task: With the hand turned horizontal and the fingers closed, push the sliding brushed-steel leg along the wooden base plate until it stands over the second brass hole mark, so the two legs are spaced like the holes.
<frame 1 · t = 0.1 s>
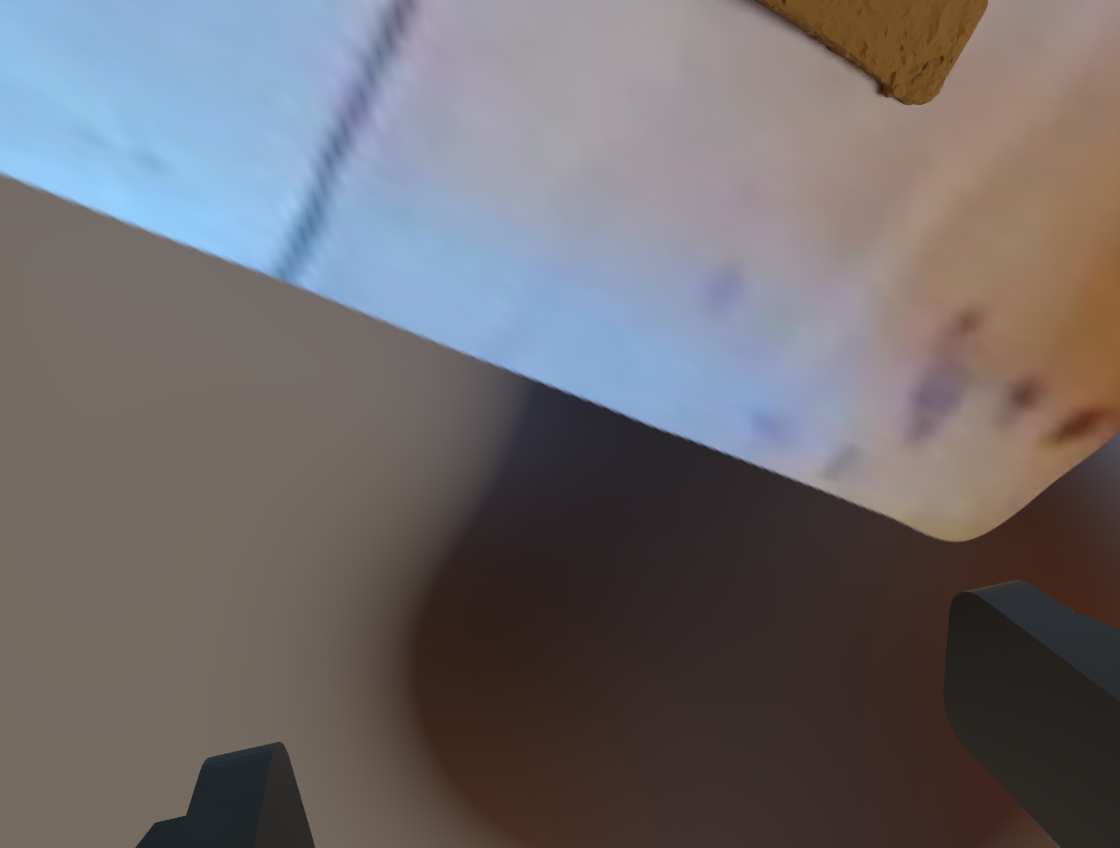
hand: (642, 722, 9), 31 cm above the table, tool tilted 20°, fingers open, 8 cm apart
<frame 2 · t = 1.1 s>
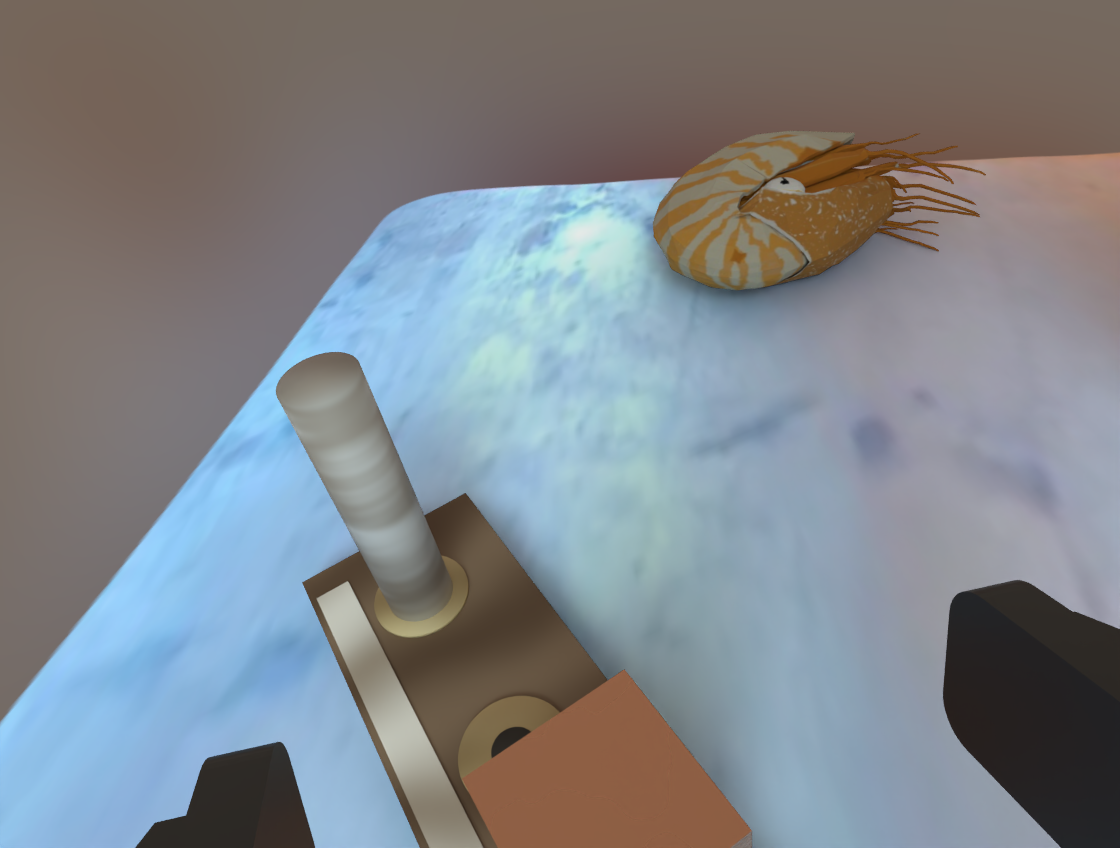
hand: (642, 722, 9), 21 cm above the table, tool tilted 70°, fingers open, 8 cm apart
wooden base plate: (523, 769, 30), on the table
nautilus: (813, 262, 54), on the table
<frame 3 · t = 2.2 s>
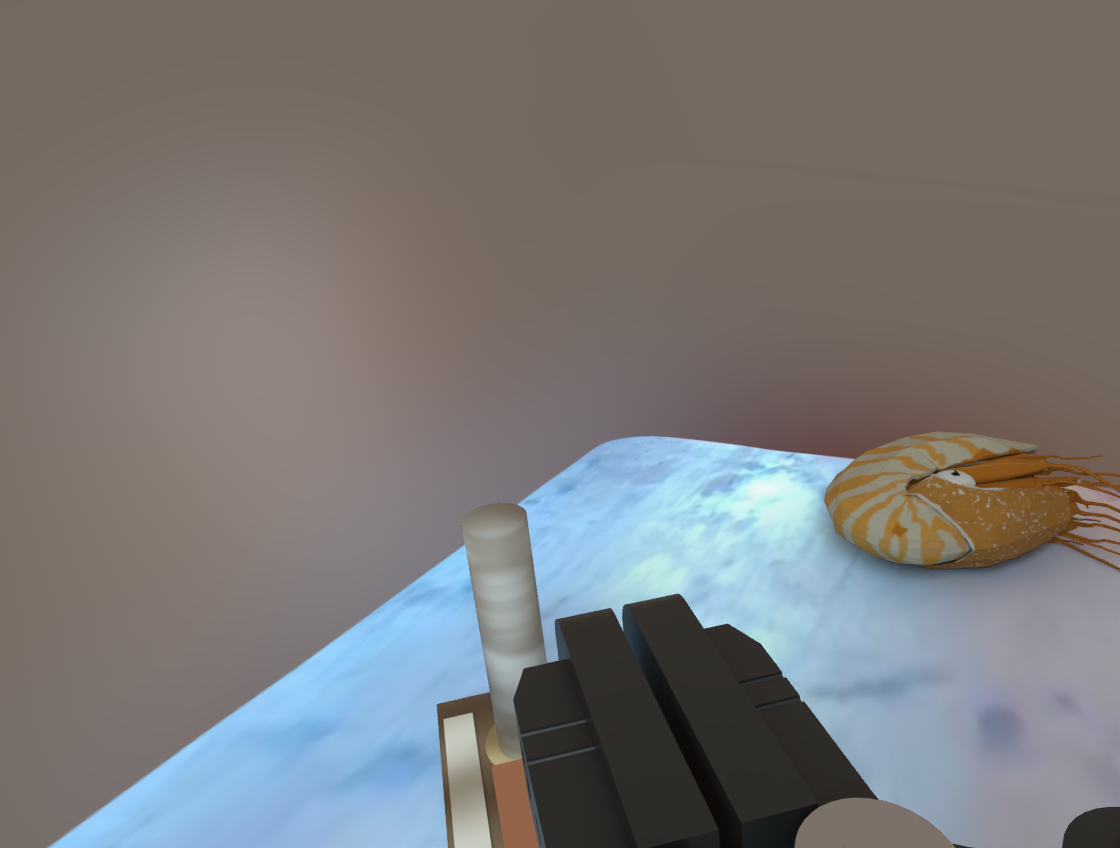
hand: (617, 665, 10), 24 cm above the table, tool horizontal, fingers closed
nautilus: (985, 557, 55), on the table
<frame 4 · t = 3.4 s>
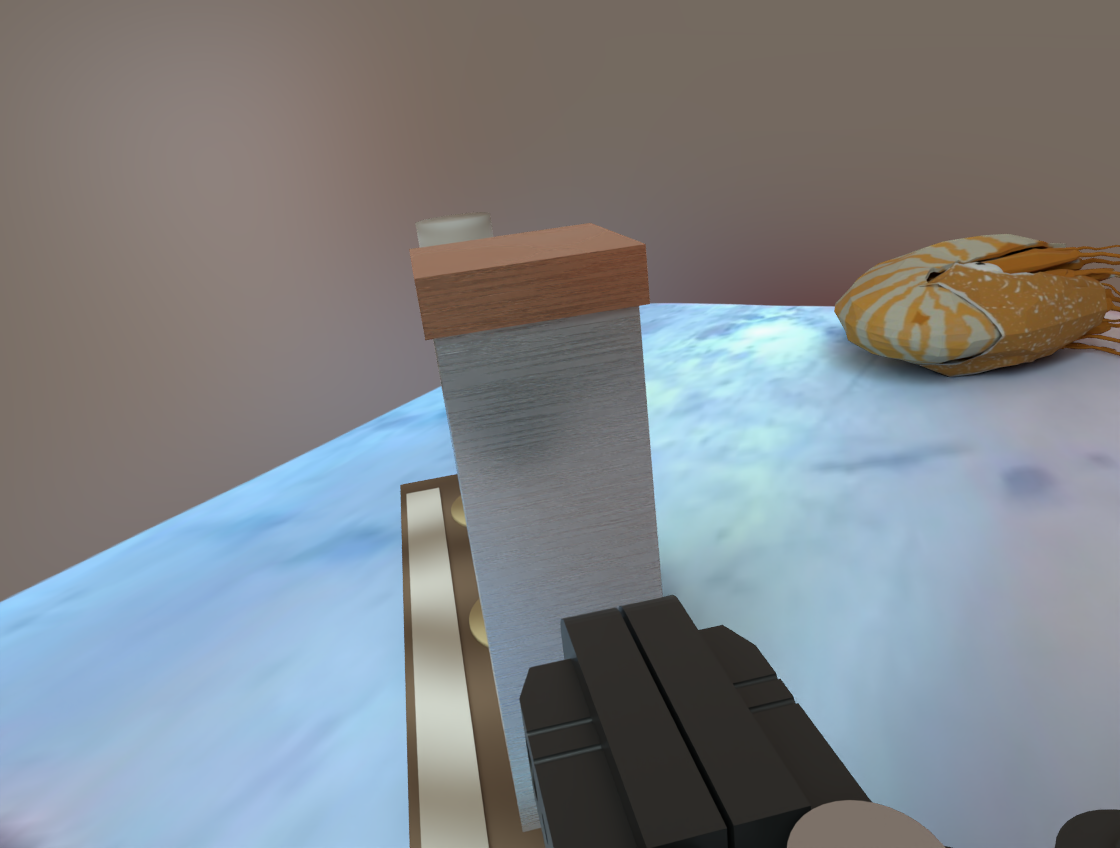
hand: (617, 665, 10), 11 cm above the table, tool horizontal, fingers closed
wooden base plate: (536, 648, 28), on the table
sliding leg: (557, 562, 17), point 9 cm above the table, slide at 9.0 cm
nautilus: (1011, 367, 50), on the table
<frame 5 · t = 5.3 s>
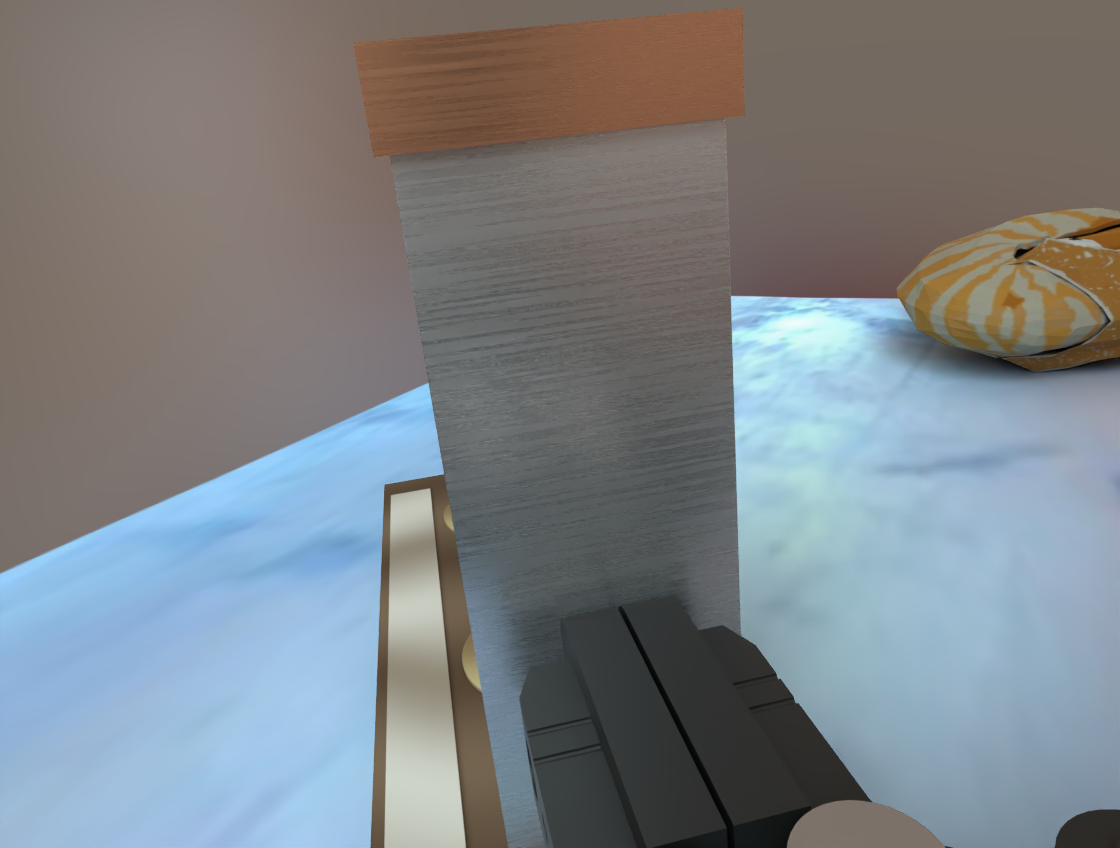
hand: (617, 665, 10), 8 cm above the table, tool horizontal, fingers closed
wooden base plate: (549, 694, 22), on the table
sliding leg: (579, 547, 11), point 9 cm above the table, slide at 7.7 cm, touching gripper
nautilus: (1102, 361, 43), on the table
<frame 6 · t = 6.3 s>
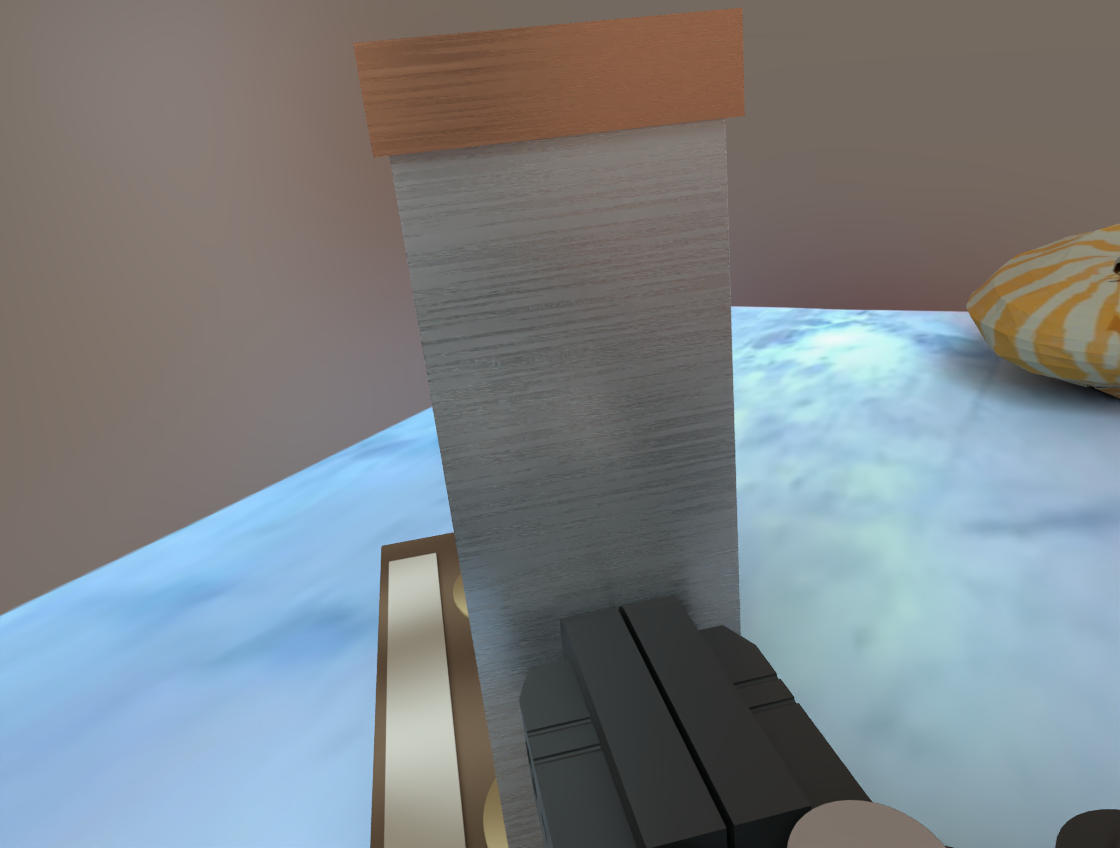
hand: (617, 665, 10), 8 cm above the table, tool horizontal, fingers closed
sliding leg: (579, 547, 11), point 9 cm above the table, slide at 2.1 cm, touching gripper
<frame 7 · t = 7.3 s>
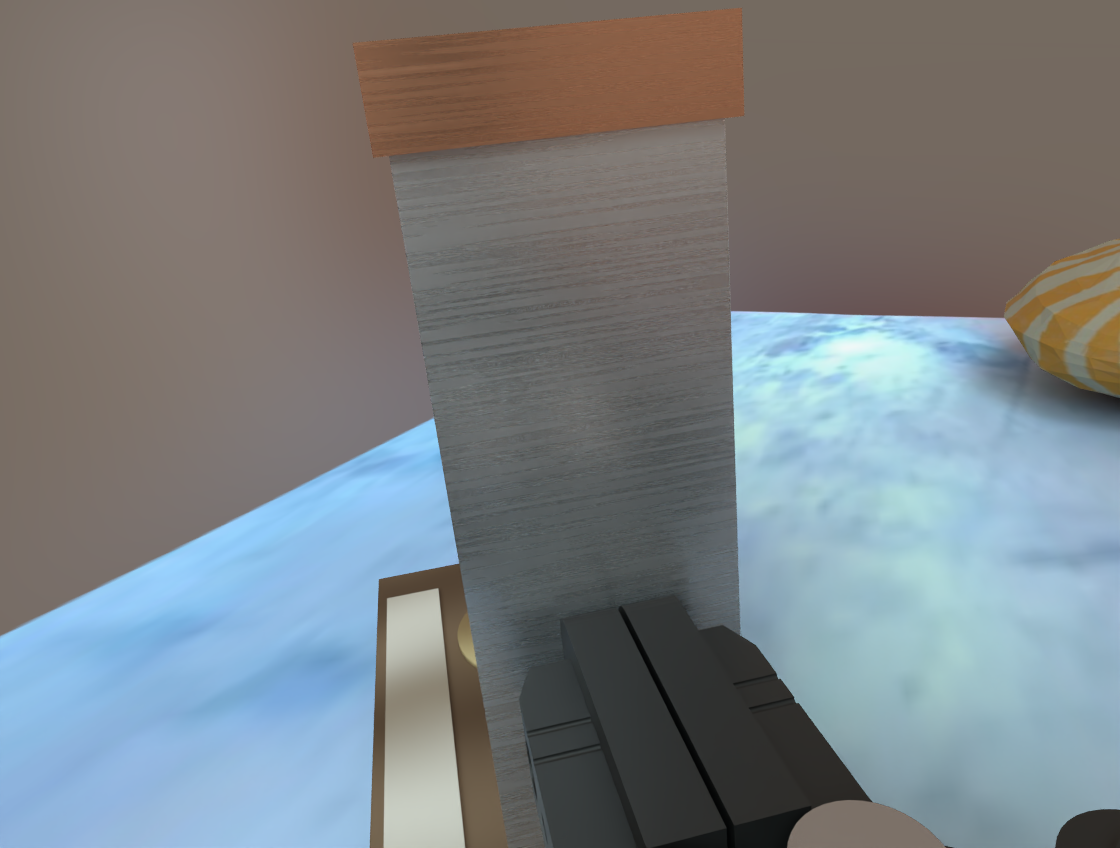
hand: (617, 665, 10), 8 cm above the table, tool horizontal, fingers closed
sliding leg: (578, 547, 11), point 9 cm above the table, slide at -0.2 cm, touching gripper
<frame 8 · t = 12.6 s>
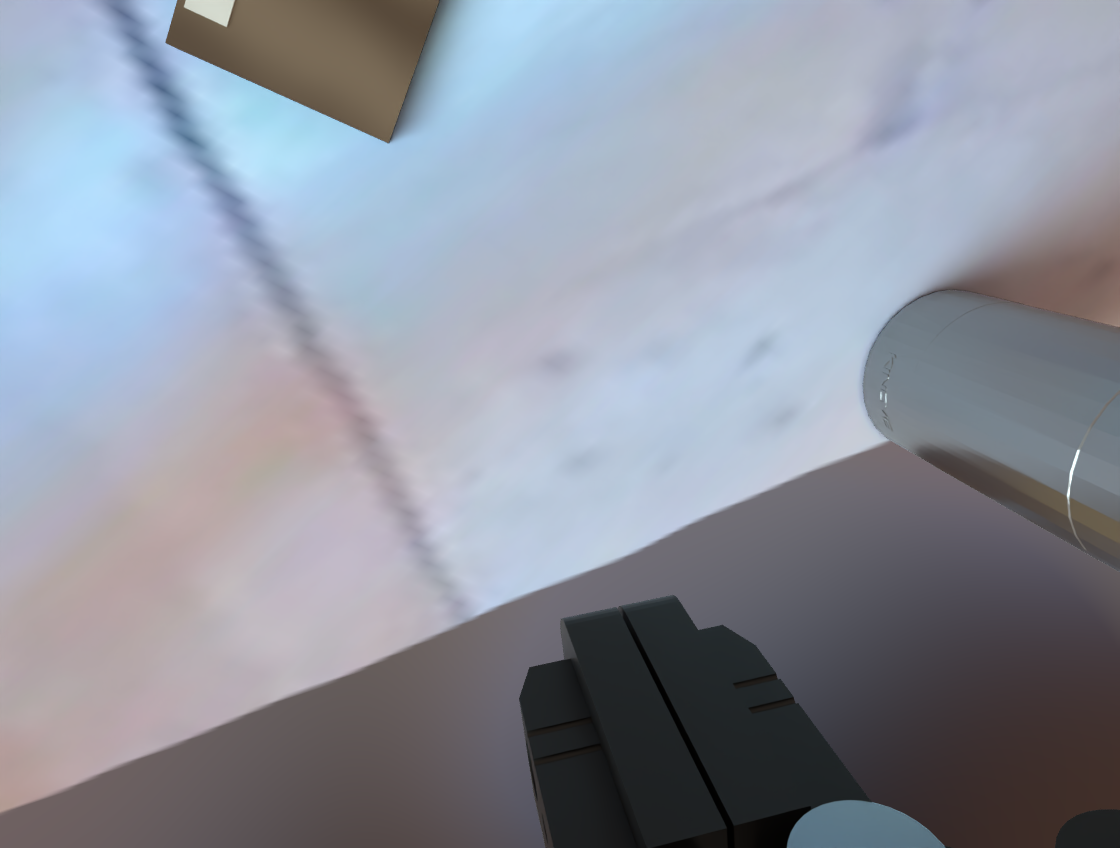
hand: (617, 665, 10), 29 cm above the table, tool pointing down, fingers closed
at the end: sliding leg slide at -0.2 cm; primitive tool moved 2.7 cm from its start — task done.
